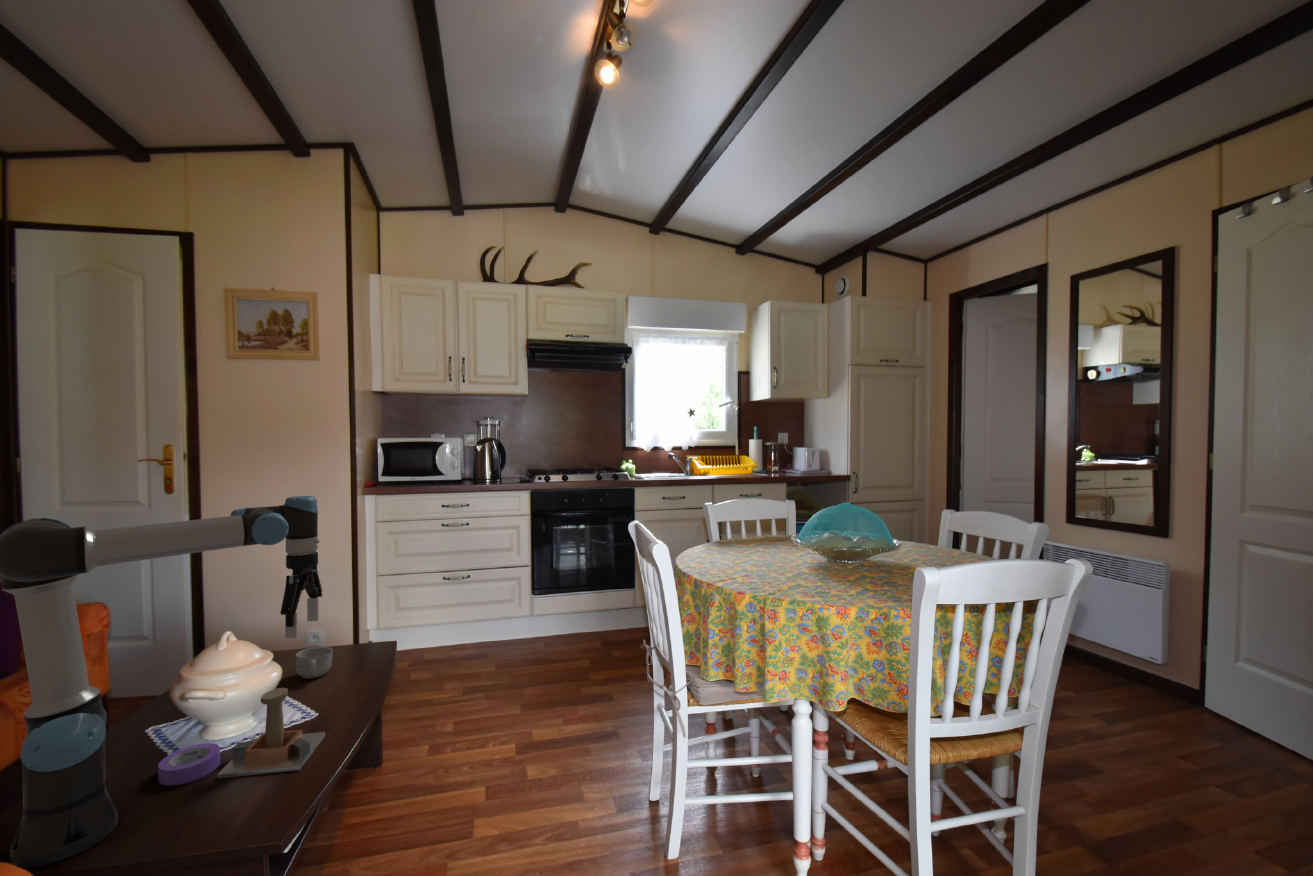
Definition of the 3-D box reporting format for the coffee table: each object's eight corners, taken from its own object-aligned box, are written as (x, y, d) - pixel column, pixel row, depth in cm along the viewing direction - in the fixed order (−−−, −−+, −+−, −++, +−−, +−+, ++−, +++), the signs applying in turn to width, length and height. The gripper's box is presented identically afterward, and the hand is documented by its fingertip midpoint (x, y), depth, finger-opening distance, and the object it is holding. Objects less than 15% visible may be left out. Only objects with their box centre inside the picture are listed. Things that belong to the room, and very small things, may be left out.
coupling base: (217, 778, 135) (216, 762, 135) (251, 742, 151) (251, 727, 151) (299, 770, 138) (299, 754, 138) (325, 735, 154) (325, 721, 154)
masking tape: (144, 786, 133) (144, 770, 132) (186, 757, 144) (186, 742, 144) (193, 786, 132) (193, 770, 132) (231, 757, 144) (231, 742, 144)
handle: (256, 759, 141) (256, 699, 141) (274, 745, 148) (274, 687, 148) (275, 759, 141) (275, 699, 141) (292, 745, 148) (292, 688, 148)
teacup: (301, 670, 196) (301, 647, 196) (336, 666, 199) (336, 644, 199) (288, 688, 183) (288, 663, 182) (326, 683, 186) (325, 659, 186)
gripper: (296, 562, 143) (297, 644, 144) (334, 543, 168) (334, 613, 168) (264, 563, 142) (265, 647, 142) (306, 543, 167) (307, 615, 167)
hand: (302, 629), depth 155 cm, fingers open, 13 cm apart
